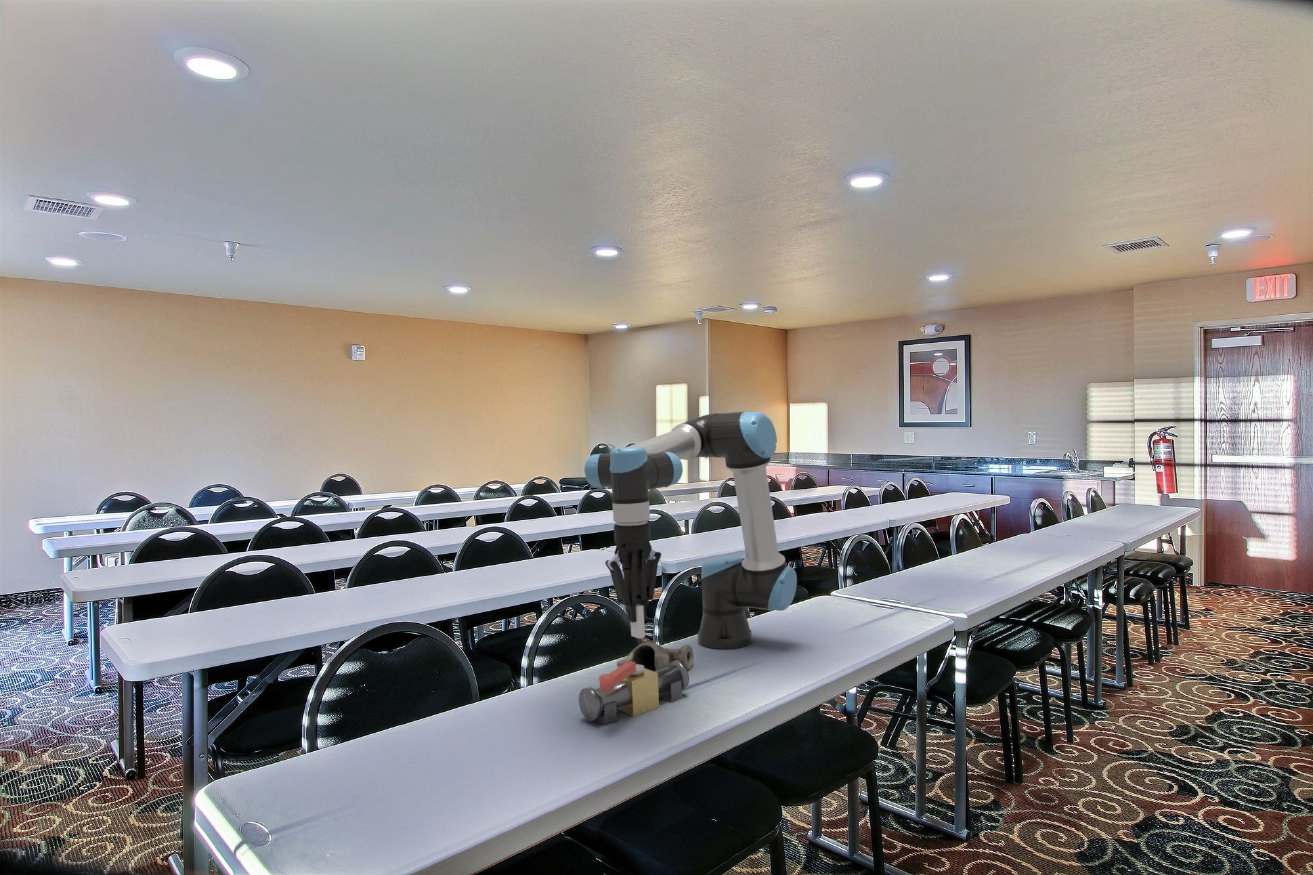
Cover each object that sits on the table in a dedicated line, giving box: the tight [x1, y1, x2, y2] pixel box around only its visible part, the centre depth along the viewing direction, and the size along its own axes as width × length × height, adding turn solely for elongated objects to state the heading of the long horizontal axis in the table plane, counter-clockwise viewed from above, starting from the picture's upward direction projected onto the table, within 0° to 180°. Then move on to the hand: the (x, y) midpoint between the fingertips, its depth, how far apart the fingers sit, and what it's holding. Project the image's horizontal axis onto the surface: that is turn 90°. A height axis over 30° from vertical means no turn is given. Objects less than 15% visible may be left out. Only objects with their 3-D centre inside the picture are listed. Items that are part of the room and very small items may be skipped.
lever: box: [598, 661, 644, 692], centre depth 157 cm, size 16×4×3 cm, turn 156°
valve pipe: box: [578, 660, 690, 726], centre depth 163 cm, size 25×7×8 cm, turn 129°
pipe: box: [616, 641, 694, 671], centre depth 185 cm, size 16×9×15 cm
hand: (638, 636), depth 154 cm, fingers closed
